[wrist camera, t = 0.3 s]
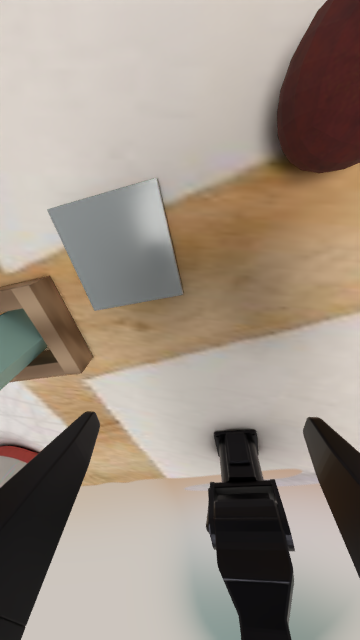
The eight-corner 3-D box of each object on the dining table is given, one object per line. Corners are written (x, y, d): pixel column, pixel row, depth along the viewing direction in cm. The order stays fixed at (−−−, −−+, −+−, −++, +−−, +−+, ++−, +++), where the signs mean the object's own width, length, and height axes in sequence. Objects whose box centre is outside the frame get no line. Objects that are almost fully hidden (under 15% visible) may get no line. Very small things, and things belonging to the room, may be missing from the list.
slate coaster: (183, 292, 21) (183, 294, 20) (96, 308, 23) (94, 310, 22) (157, 178, 16) (156, 177, 16) (51, 209, 18) (47, 209, 17)
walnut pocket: (93, 356, 26) (81, 373, 23) (22, 366, 28) (4, 382, 25) (49, 275, 21) (28, 285, 18) (-33, 294, 23) (-62, 305, 20)
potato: (243, 159, 15) (275, 124, 9) (308, -2, 12) (436, -245, 5) (327, 196, 16) (409, 187, 10) (414, 55, 12) (634, -101, 6)
